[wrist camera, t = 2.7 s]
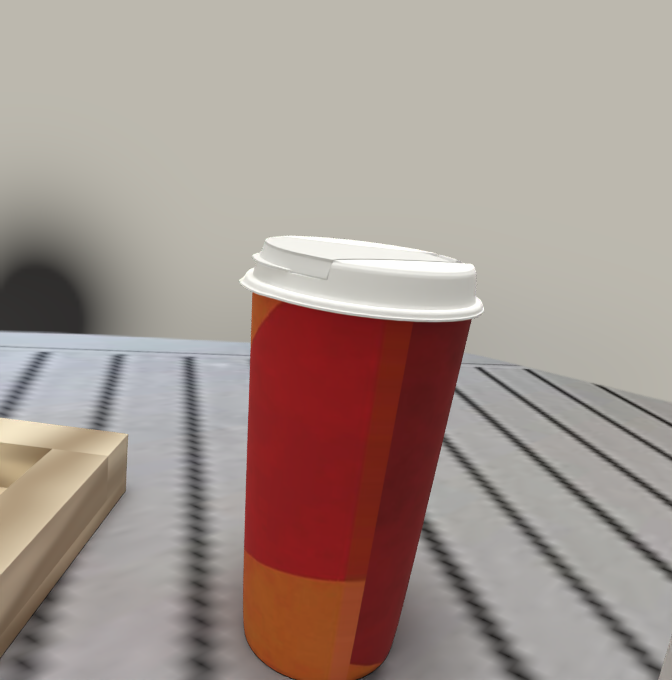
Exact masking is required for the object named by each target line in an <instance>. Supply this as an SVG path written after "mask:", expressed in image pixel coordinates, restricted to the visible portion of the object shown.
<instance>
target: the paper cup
mask: <svg viewBox="0 0 672 680" xmlns="http://www.w3.org/2000/svg"><path fill="white" fill-rule="evenodd" d="M252 259H253V260H254V261H256V263H255V268H252V269H250V270H248V271H247V273H246V275H245V276H244V277H243V278H241V279H240V280H239V283H240V284H241V286H243V287H244V288H246V289H247V290H249V291H251V292H253V294H252V325H251V353H250V383H249V412H248V441H247V471H246V504H245V538H244V577H243V618H244V630H245V636H246V639H247V642H248V644H249V646H250V647H251V649H252V650H253V652H254V653H255V654H256V655H257V657H258V658H259V659H260V660H261V661H263V662H264V663H265V664H266V665H267V666H269V667H270V668H272V669H273V670H275V671H277V672H279V673H281V674H283V675H285V676H288V677H290V678H293V679H296V680H356V679H359V678H361V677H364V676H366V675H368V674H369V673H371V672H372V671H374V670H375V669H376V668H378V667H379V666H380V665H381V664H382V663H383V661H384V660H385V659H386V657H387V655H388V653H389V651H390V648H391V646H392V643H393V639H394V636H395V633H396V630H397V626H398V622H399V618H400V614H401V611H402V607H403V603H404V599H405V595H406V591H407V587H408V583H409V579H410V575H411V571H412V567H413V563H414V559H415V554H416V550H417V546H418V542H419V538H420V534H421V530H422V525H423V521H424V517H425V513H426V509H427V505H428V501H429V496H430V492H431V488H432V484H433V480H434V475H435V471H436V467H437V463H438V459H439V454H440V450H441V446H442V442H443V437H444V433H445V429H446V425H447V421H448V416H449V412H450V408H451V404H452V400H453V395H454V391H455V387H456V383H457V379H458V374H459V370H460V366H461V362H462V358H463V353H464V349H465V345H466V341H467V337H468V332H469V328H470V324H471V320H472V319H473V318H477V317H479V316H481V315H482V314H483V313H484V308H483V305H482V301H481V300H480V299H479V298H477V297H476V270H475V268H474V266H473V265H472V264H464V263H463V262H461V261H459V260H457V259H454V258H450V257H447V256H444V255H439V256H437V253H432V252H427V251H422V250H417V249H411V248H406V247H399V246H393V245H387V244H379V243H372V242H364V241H356V240H347V239H336V238H324V237H309V236H277V237H271V238H267V239H265V243H264V246H263V248H262V250H261V252H259V253H256V254H254V255H253V256H252Z"/></svg>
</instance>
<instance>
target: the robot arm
mask: <svg viewBox="0 0 672 680" xmlns="http://www.w3.org/2000/svg"><path fill="white" fill-rule="evenodd" d="M659 680H672V636H671V639H670V643H669V646H668V649H667V653H666V656H665V659H664V663H663V666H662V670H661V673H660V676H659Z"/></svg>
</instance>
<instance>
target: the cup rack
mask: <svg viewBox="0 0 672 680" xmlns="http://www.w3.org/2000/svg"><path fill="white" fill-rule="evenodd" d="M127 447H128V434H123V433H115V432H108V431H100V430H92V429H84V428H76V427H68V426H61V425H53V424H45V423H37V422H29V421H21V420H13V419H6V418H0V657H1V656H2V655H3V653H4V652H5V651H6V649H7V648H8V647H9V645H10V644H11V643H12V641H13V640H14V639H15V637H16V636H17V635H18V633H19V632H20V631H21V629H22V628H23V627H24V625H25V624H26V623H27V621H28V620H29V619H30V617H31V616H32V615H33V613H34V612H35V611H36V609H37V608H38V607H39V605H40V604H41V603H42V601H43V600H44V599H45V597H46V596H47V595H48V593H49V592H50V591H51V589H52V588H53V587H54V585H55V584H56V583H57V581H58V580H59V579H60V577H61V576H62V575H63V573H64V572H65V571H66V569H67V568H68V567H69V565H70V564H71V563H72V561H73V560H74V559H75V557H76V556H77V555H78V553H79V552H80V551H81V549H82V548H83V547H84V545H85V544H86V543H87V541H88V540H89V539H90V537H91V536H92V535H93V533H94V532H95V531H96V529H97V528H98V527H99V525H100V524H101V523H102V521H103V520H104V519H105V517H106V516H107V515H108V513H109V512H110V511H111V509H112V508H113V507H114V505H115V504H116V503H117V501H118V500H119V499H120V497H121V496H122V495H123V493H124V492H125V491H126V470H127Z"/></svg>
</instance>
